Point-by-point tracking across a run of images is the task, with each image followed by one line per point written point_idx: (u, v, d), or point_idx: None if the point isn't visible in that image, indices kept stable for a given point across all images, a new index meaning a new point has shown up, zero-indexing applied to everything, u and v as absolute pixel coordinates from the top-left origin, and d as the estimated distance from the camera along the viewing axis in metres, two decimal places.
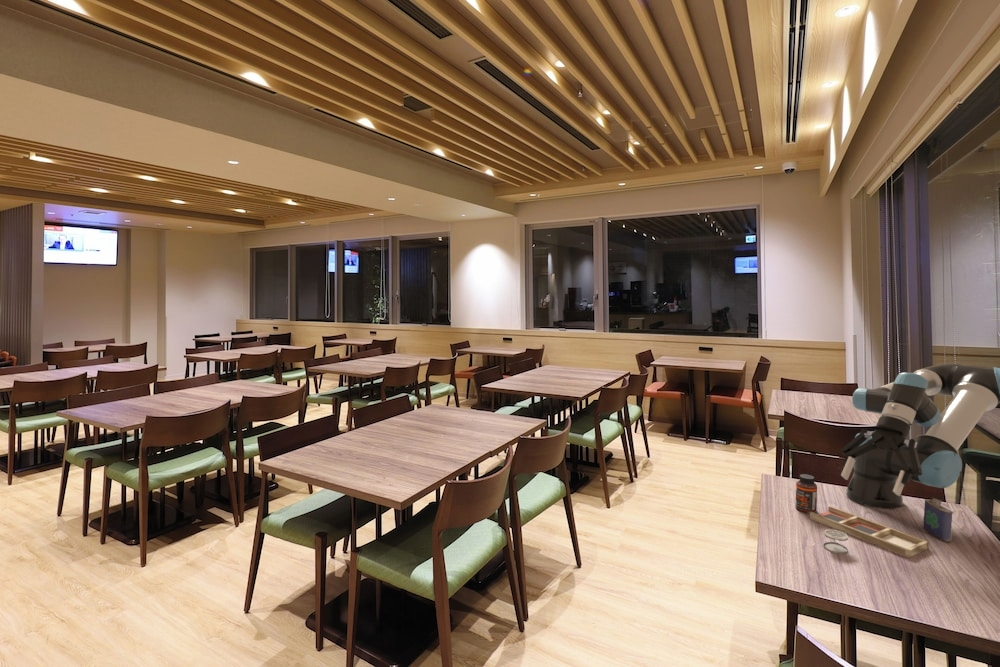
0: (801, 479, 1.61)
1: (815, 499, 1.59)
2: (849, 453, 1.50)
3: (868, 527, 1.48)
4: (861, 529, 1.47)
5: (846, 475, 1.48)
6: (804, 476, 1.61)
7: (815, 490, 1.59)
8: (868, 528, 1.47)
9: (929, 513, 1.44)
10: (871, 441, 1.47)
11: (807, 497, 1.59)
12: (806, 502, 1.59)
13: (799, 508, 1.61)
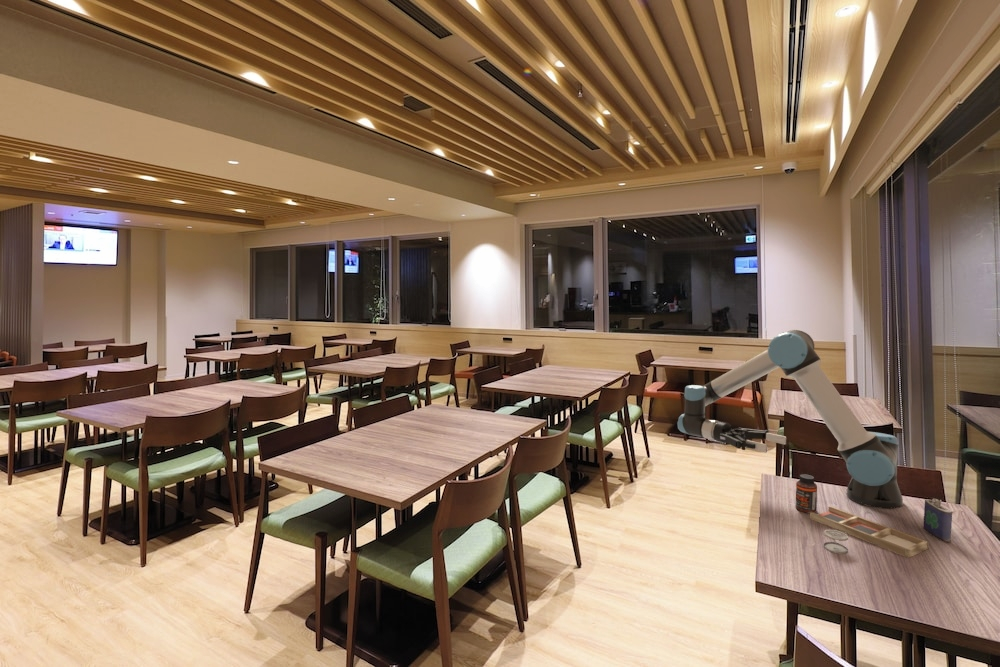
0: (801, 479, 1.61)
1: (815, 499, 1.59)
2: None
3: (868, 527, 1.48)
4: (861, 529, 1.47)
5: (782, 441, 1.73)
6: (804, 476, 1.61)
7: (815, 490, 1.59)
8: (868, 528, 1.47)
9: (929, 513, 1.44)
10: None
11: (807, 497, 1.59)
12: (806, 502, 1.59)
13: (799, 508, 1.61)
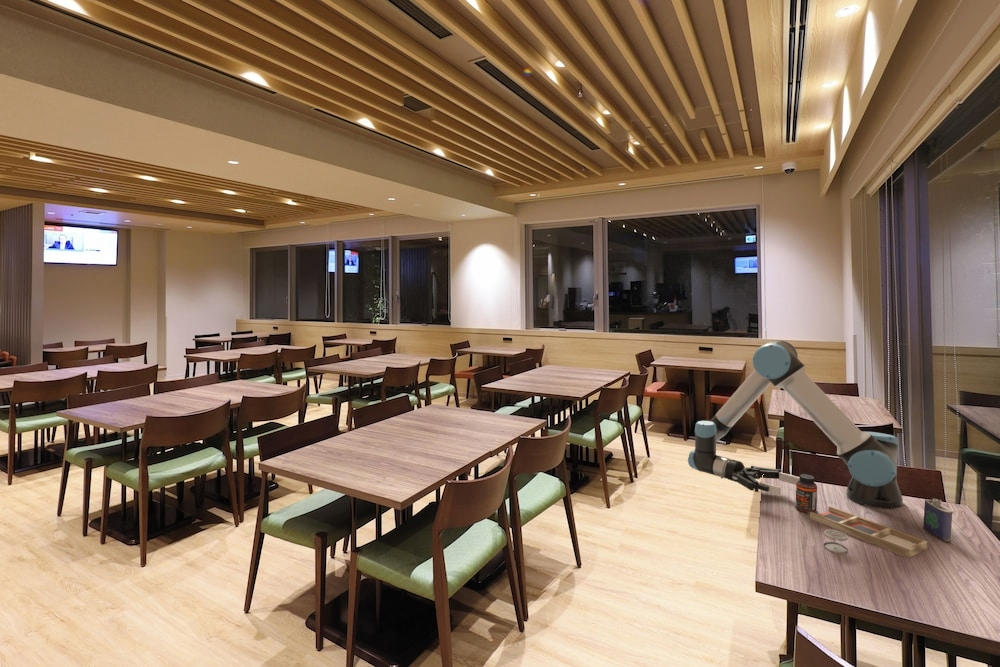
0: (801, 479, 1.61)
1: (815, 499, 1.59)
2: None
3: (868, 527, 1.48)
4: (861, 529, 1.47)
5: (796, 481, 1.70)
6: (804, 476, 1.61)
7: (815, 490, 1.59)
8: (868, 528, 1.47)
9: (929, 513, 1.44)
10: None
11: (807, 497, 1.59)
12: (806, 502, 1.59)
13: (799, 508, 1.61)
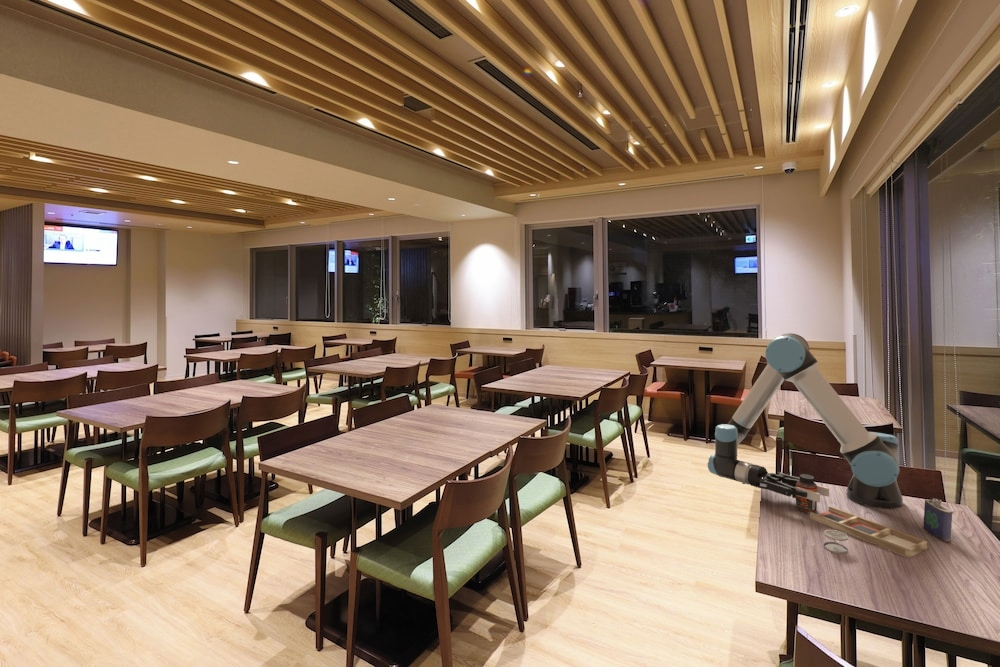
0: (801, 479, 1.61)
1: None
2: None
3: (868, 527, 1.48)
4: (861, 529, 1.47)
5: (825, 492, 1.59)
6: (804, 476, 1.61)
7: (815, 490, 1.59)
8: (868, 528, 1.47)
9: (929, 513, 1.44)
10: None
11: None
12: (806, 502, 1.59)
13: (799, 508, 1.61)
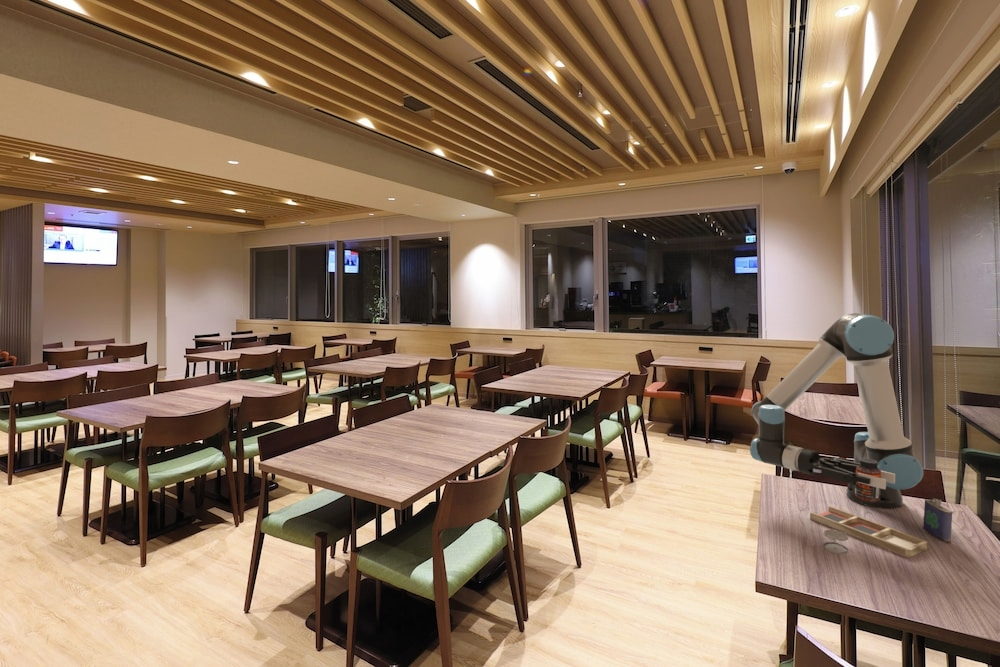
0: (862, 463, 1.42)
1: None
2: None
3: (868, 527, 1.48)
4: (861, 529, 1.47)
5: (890, 479, 1.40)
6: (865, 460, 1.41)
7: (880, 475, 1.39)
8: (868, 528, 1.47)
9: (929, 513, 1.44)
10: None
11: None
12: (868, 489, 1.40)
13: (860, 496, 1.42)
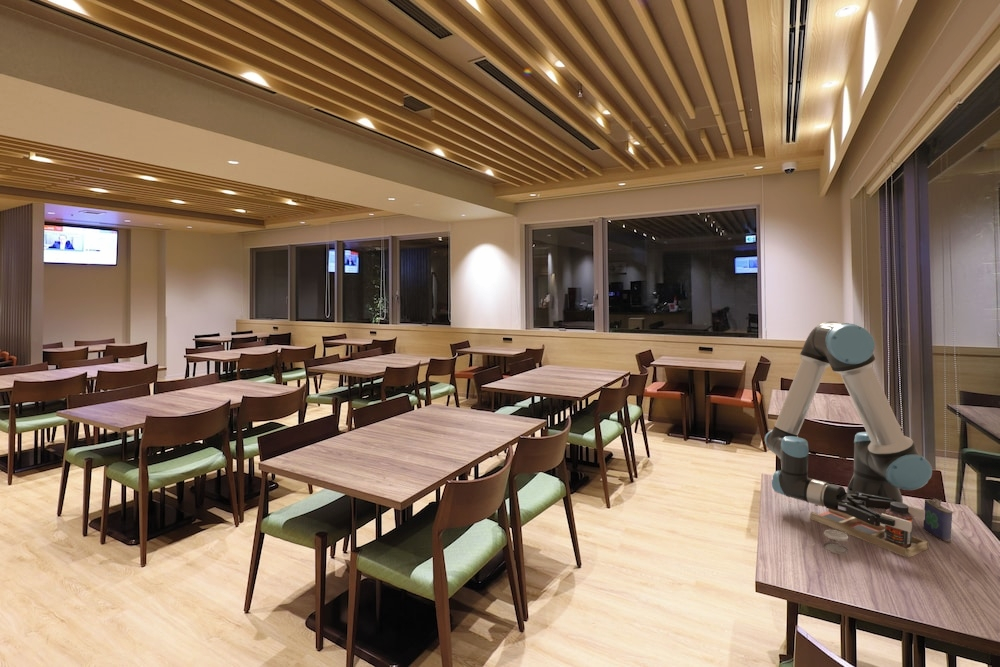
0: (893, 508, 1.37)
1: (910, 532, 1.35)
2: None
3: (868, 527, 1.48)
4: (861, 529, 1.47)
5: (920, 515, 1.38)
6: (896, 505, 1.37)
7: (911, 521, 1.35)
8: (868, 528, 1.47)
9: (929, 513, 1.44)
10: None
11: None
12: (900, 535, 1.35)
13: None
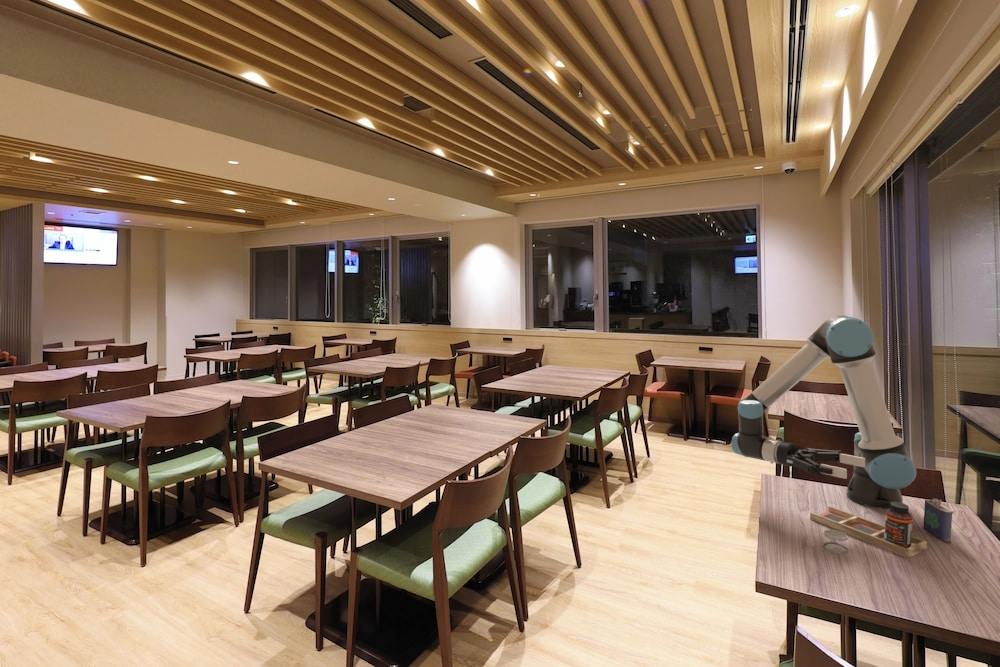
0: (893, 508, 1.37)
1: (910, 532, 1.35)
2: None
3: (868, 527, 1.48)
4: (861, 529, 1.47)
5: (861, 463, 1.49)
6: (896, 505, 1.37)
7: (911, 521, 1.35)
8: (868, 528, 1.47)
9: (929, 513, 1.44)
10: None
11: (901, 530, 1.35)
12: (900, 535, 1.35)
13: None
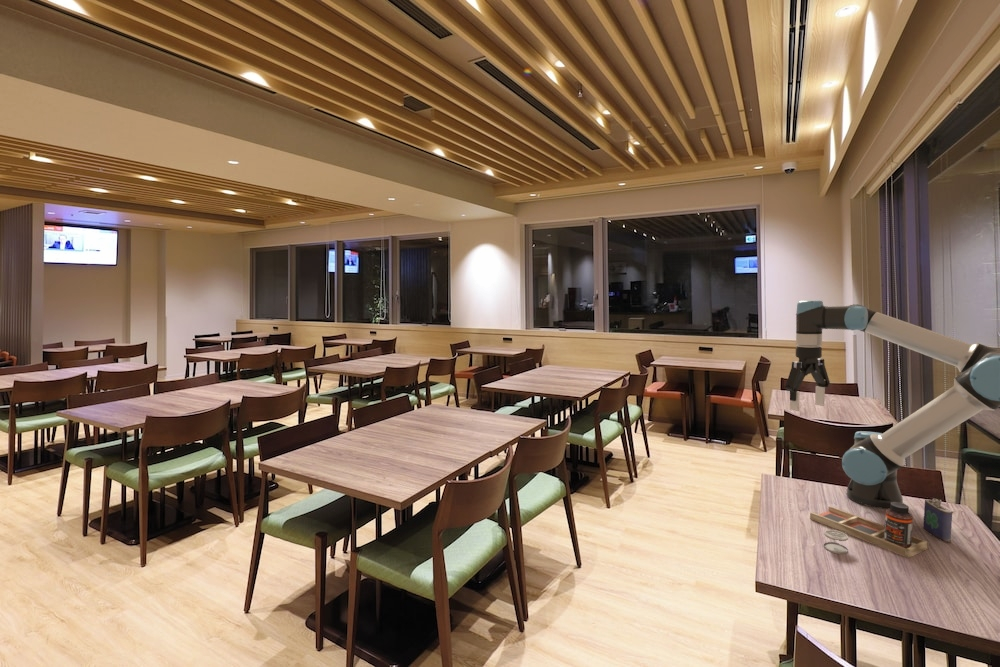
0: (893, 508, 1.37)
1: (910, 532, 1.35)
2: None
3: (868, 527, 1.48)
4: (861, 529, 1.47)
5: (818, 402, 1.71)
6: (896, 505, 1.37)
7: (911, 521, 1.35)
8: (868, 528, 1.47)
9: (929, 513, 1.44)
10: None
11: (901, 530, 1.35)
12: (900, 535, 1.35)
13: None
